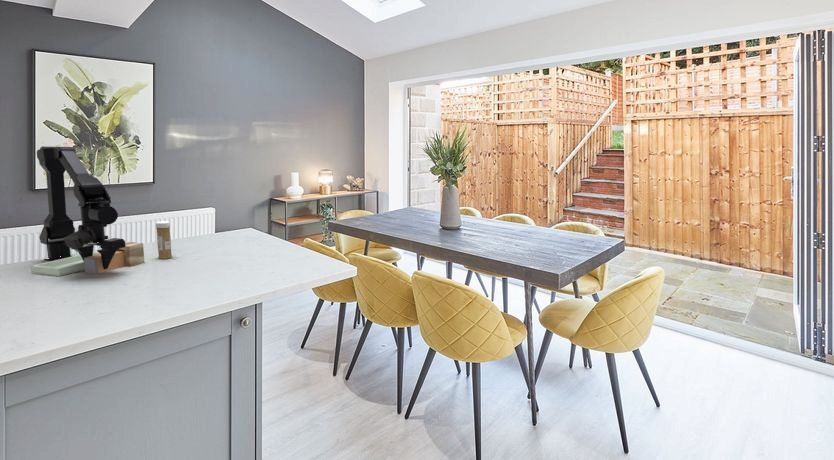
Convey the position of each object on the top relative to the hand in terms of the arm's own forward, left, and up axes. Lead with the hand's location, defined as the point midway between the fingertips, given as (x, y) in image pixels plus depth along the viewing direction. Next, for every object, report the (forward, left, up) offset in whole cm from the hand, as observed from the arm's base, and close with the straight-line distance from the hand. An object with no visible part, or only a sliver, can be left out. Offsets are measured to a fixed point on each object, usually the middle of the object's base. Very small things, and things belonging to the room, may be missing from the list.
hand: (97, 268), depth 150 cm
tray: (-11, +2, -1) cm, 11 cm away
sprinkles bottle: (+6, +22, -1) cm, 23 cm away
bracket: (0, +11, -1) cm, 12 cm away
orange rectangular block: (0, +4, -1) cm, 5 cm away
